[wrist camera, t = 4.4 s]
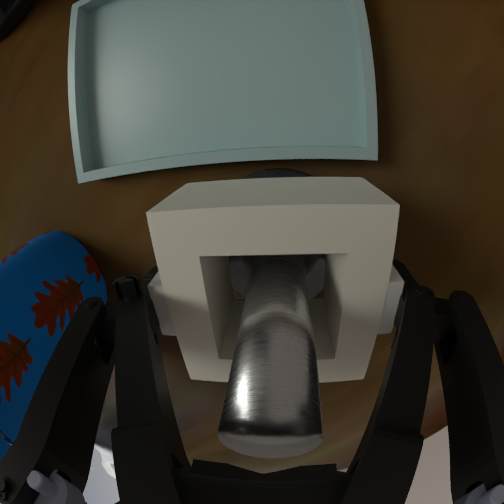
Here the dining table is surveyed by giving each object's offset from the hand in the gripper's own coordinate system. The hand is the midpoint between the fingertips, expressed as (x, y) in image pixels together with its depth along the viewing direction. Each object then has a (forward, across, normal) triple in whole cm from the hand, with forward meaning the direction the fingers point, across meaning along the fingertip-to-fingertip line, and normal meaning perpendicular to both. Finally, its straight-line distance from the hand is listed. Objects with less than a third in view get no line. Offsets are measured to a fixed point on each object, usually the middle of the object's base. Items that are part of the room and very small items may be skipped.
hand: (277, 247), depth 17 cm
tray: (+3, -4, +13) cm, 14 cm away
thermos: (+3, -21, -4) cm, 22 cm away
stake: (+3, 0, 0) cm, 3 cm away
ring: (-2, 0, 0) cm, 2 cm away
